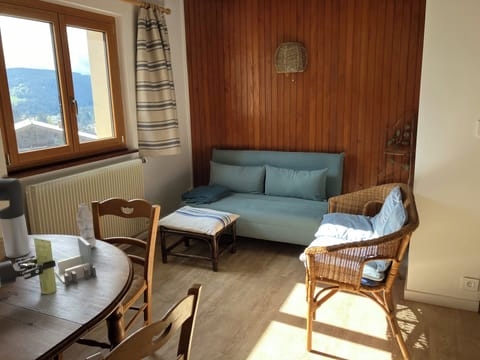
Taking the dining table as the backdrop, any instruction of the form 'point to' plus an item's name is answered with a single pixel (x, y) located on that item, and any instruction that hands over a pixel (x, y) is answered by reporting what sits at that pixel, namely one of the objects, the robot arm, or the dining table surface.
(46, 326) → the dining table surface
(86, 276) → the clips
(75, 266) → the end holder
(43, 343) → the dining table surface
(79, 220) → the plastic bottle
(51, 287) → the tube
